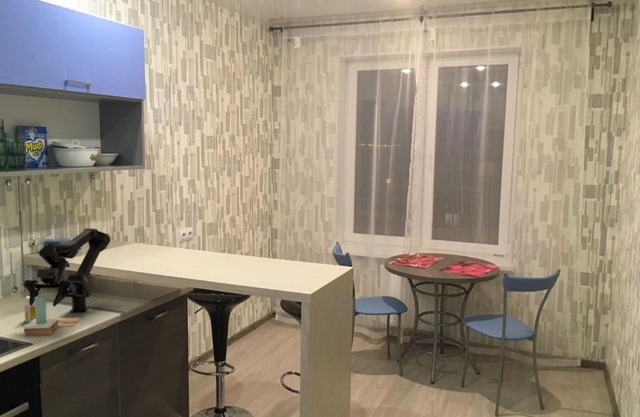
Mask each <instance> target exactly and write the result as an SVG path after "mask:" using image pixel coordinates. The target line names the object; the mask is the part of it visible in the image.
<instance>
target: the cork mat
mask: <svg viewBox="0 0 640 417" xmlns="http://www.w3.org/2000/svg"><path fill="white" fill-rule="evenodd" d="M56 318H57V320H58V328H64V327H65V328H70V327H74V326H76V324H77V323H78V322H79V321H80V320H82V317H80V316H79V317H56Z"/></svg>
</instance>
